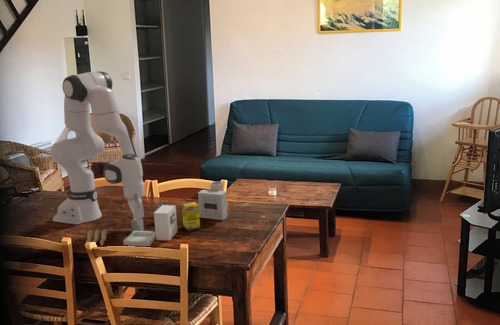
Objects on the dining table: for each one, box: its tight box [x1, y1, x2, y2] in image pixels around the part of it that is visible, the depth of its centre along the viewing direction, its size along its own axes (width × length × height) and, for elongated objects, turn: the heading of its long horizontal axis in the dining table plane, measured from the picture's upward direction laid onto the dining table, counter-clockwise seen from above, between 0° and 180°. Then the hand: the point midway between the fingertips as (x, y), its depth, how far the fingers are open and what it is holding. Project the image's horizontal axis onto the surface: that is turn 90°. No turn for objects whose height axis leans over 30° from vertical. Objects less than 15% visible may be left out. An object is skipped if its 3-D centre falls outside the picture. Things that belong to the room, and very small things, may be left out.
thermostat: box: [197, 181, 228, 221], centre depth 247 cm, size 12×14×15 cm
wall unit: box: [153, 204, 178, 241], centre depth 223 cm, size 7×10×12 cm
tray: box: [122, 230, 157, 247], centre depth 220 cm, size 11×11×2 cm
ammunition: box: [85, 229, 107, 246], centre depth 219 cm, size 5×7×8 cm
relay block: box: [130, 218, 145, 233], centre depth 230 cm, size 4×4×6 cm
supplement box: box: [181, 201, 201, 232], centre depth 231 cm, size 6×6×11 cm
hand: (137, 221), depth 229 cm, fingers open, 8 cm apart
